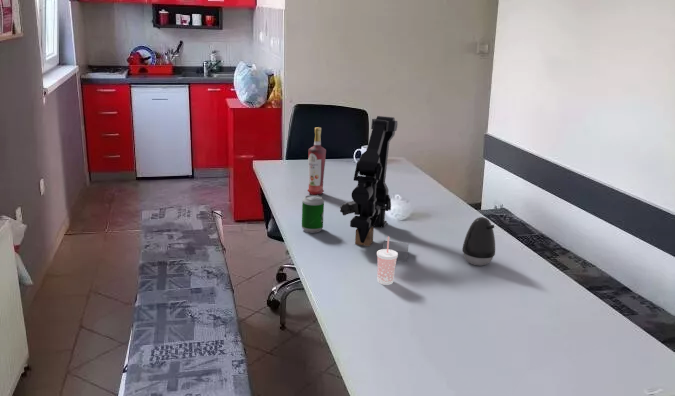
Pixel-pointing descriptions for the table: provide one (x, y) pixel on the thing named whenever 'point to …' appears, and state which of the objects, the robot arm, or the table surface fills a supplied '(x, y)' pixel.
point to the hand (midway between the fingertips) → (364, 239)
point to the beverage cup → (386, 265)
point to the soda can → (312, 213)
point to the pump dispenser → (479, 242)
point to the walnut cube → (367, 241)
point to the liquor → (316, 165)
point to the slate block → (398, 249)
